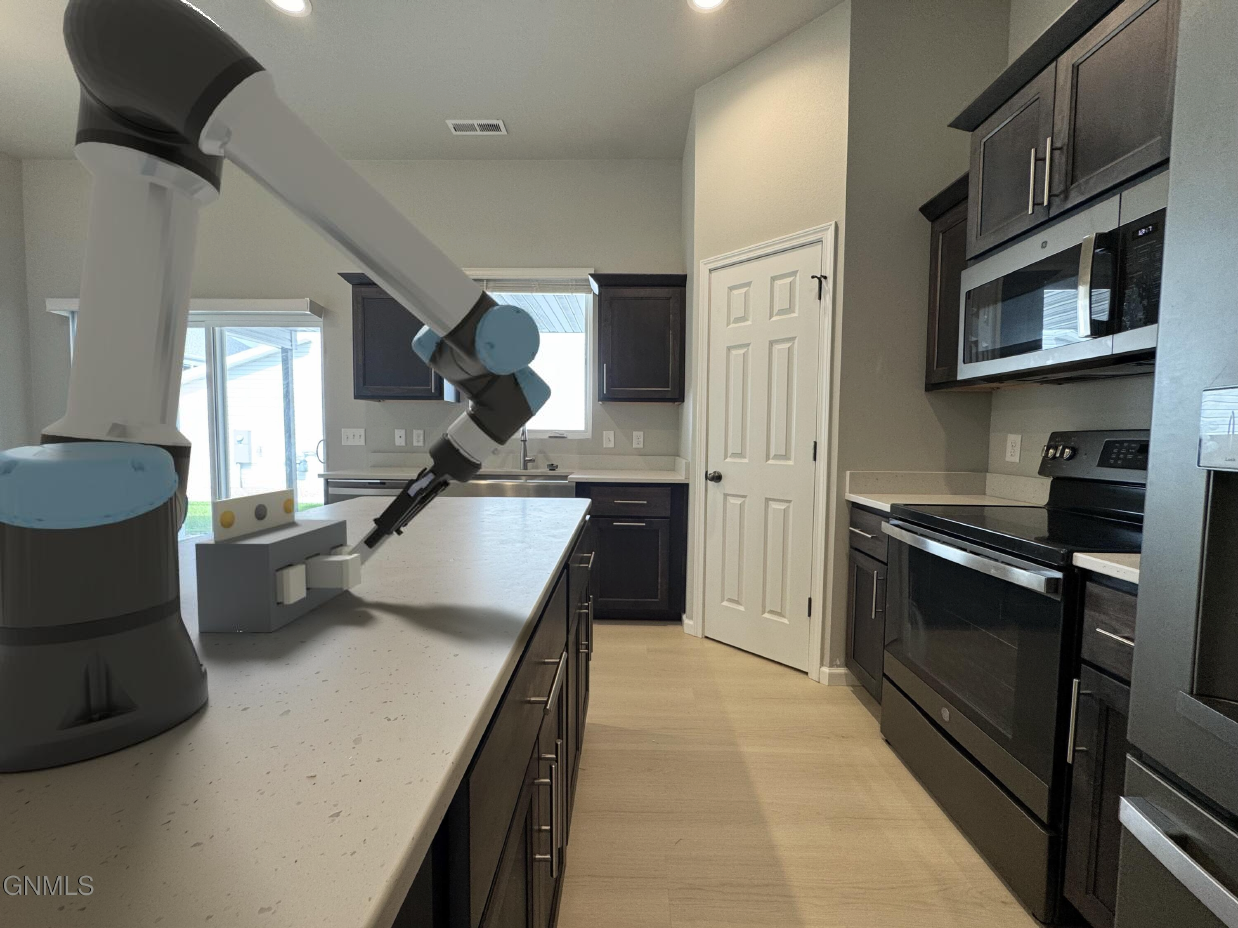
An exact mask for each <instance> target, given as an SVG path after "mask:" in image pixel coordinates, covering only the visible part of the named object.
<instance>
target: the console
mask: <svg viewBox="0 0 1238 928" xmlns="http://www.w3.org/2000/svg"><path fill="white" fill-rule="evenodd" d="M347 523H348V522H347V519H295V521H293V522H289V523H286V524H282V525H278V526H274V527H270V528H267V529H263V530H259V531H255V532H252V533H248V534H244V535H240V536H236V537H233V538H229V539H225V540H221V541H214V538H212V539H208V540H203V541H201V542H195V543H194V546H195V547H194V549H195V569H196V570H195V572H196V573H195V574H196V575H195V577H196V595H197V596H196V597H197V598H196V599H197V600H196V601H197V621H198V622H197V623H198V633H250V632H272V631H274V632H275V631H277V630H278V629H280V627H281V628H282V627H284V626H286V625H288V624H289V623H291V622H293V621H295V620H297V619H298V618H300V617H302V616H304V615H305V614H307V613H309V612H310V610H311V611H313V610H314V609H316V608H318V607H320V606H322V605H323V604H325V603H326V602H329V601H330V600H332V599H334V598H335V597H337V596H339V595H342V594H343V593H344V592H347V590H343V588H306V596H305V597H304V598H302V599H300V600H298V601H296V602H294V603H292V604H284V602H277V593H276V570H277V569H279V568H282V567H284V566H296V565H299V564H305V578H306V558H307V557H310V556H312V555H331V548H333V547H335V546H346V545H348V535H347V534H348V533H347V531H348V530H347V529H348V528H347ZM319 605H320V606H319ZM312 609H313V610H312ZM237 631H238V632H237ZM240 631H242V632H240ZM272 633H273V632H272Z"/></svg>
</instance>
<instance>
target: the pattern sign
mask: <svg viewBox="0 0 1238 928" xmlns="http://www.w3.org/2000/svg"><path fill="white" fill-rule="evenodd" d="M295 517H296V515H295V489H294V488H285V489H278V490H272V491H267V492H261V493H255V494H248V495H241V496H237V497H236V496H235V497H231V498H230V497H228V498H225V499H219V500H218V499H217V500H213V501H212V518H213V519H212V520H213V539H214V541H221V540H225V539H229V538H233V537H236V536H240V535H244V534H248V533H252V532H255V531H259V530H263V529H267V528H270V527H274V526H278V525H282V524H286V523H289V522H293V521H295V520H296V518H295Z"/></svg>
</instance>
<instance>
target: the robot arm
mask: <svg viewBox="0 0 1238 928" xmlns="http://www.w3.org/2000/svg"><path fill="white" fill-rule="evenodd" d="M62 34H63V41H64V45H65V48H66V51H67V54H68V57H69V60H70V62H71V65H72V67H73V71H74V73H75V75H76V78H77V80H78V83H79V91H80V92H79V94H80V95H79V96H80V97H79V106H78V114H77V122H76V123H77V124H76V132H75V142H74V143H75V144H74V152H73V153H74V156H75V157H76V159H77V160H78V162H80V164H81V165H82V166H83V167H84V168H85V169H86V170H87V171H88V173H90V175H91V176H92V184H91V185H92V186H91V193H90V204H89V212H88V220H87V221H88V222H87V228H86V229H87V230H86V236H85V237H86V238H85V246H84V247H85V248H84V255H83V262H82V263H83V264H82V272H81V280H80V289H79V290H80V291H79V298H78V304H77V305H78V308H77V315H76V316H77V317H76V323H75V332H74V342H73V349H72V359H71V367H70V374H69V384H68V385H69V386H68V393H67V403H66V408H65V409H66V410H65V414H64V415H63V416H62V417H61V419H59V420H57V421H55V422H53V423H52V424H50V425H48V426H47V427H44V428H43V429H41V435H40V444H39V445H33V446H32V445H28V446H27V445H26V446H21V447H13V448H10V449H5V450H1V451H0V773H3V772H4V773H7V772H8V773H10V772H23V771H33V770H39V769H47V768H51V767H56V766H61V765H67V764H71V763H75V762H80V761H83V760H87V759H90V758H91V759H92V758H95V757H97V756H102V755H105V754H108V753H111V752H114V751H115V752H116V751H118V750H120V749H124V748H126V747H129V746H132V745H134V744H138V743H139V742H140V743H141V742H142V741H145V740H148V739H149V738H152V737H155V736H156V735H159V734H161V733H163V732H166V731H167V730H169V729H171V728H174V727H175V726H176V725H178V724H180V723H181V722H183V721H185V720H186V719H188V718H189V717H191V716H192V715H194V714H195V713H196V712H198V711H199V710H200V709H201V708H202V707H203V705H204V704H205V703H206V702H207V699H208V698H209V682H208V671H207V668H206V666H205V664H204V662H202V660H200V659H199V656H198V653H197V650H196V647H195V645H194V643H193V641H192V638H191V636H190V634H189V631H188V629H187V626H186V624H185V623H184V620H183V617H182V610H181V609H182V608H181V605H182V604H181V586H180V585H181V584H180V583H181V582H180V581H181V580H180V558H179V556H180V555H179V533H180V531H181V529H182V528H183V524H185V522H186V520H187V519H186V518H187V516H188V512H189V496H188V494H187V492H188V491H187V490H188V483H189V482H188V481H189V473H190V472H189V471H190V463H191V453H192V441H190V440H189V439H188V438H187V437H186V436H185V435H184V434H183V433H182V432H181V431H180V429H178V426H177V421H178V412H179V403H180V395H181V388H182V386H181V384H182V377H183V367H184V359H185V352H186V350H185V349H186V343H187V342H186V341H187V334H188V333H187V332H188V324H189V323H188V322H189V315H190V307H191V306H190V304H191V296H192V287H193V279H194V269H195V262H196V251H197V245H198V244H197V243H198V234H199V228H200V227H199V226H200V216H201V211H202V210H203V209H206V208H209V207H210V206H213V205H215V204H217V203H218V202H219V200H220V195H221V185H222V178H223V177H222V176H223V170H224V169H223V168H224V161H225V159H227V160H229V162H231V163H232V164H234V165H235V166H236V167H237V168H238V169H239V170H241V172H243V173H244V174H246V176H248V177H249V178H250V179H251V180H252V181H254V182H255V183H256V184H257V185H259V186H260V187H261V188H262V189H263V190H264V191H265V192H267V193H268V194H269V195H270V196H271V197H273V198H274V199H275V200H276V201H277V202H278V203H280V205H282V206H283V207H284V208H286V209H287V210H288V211H289V212H290V213H292V214H293V215H294V216H295V217H296V218H297V219H299V220H300V221H302V223H304V224H305V225H306V226H307V227H308V228H309V229H311V230H312V231H313V232H314V233H316V234H317V235H318V236H319V237H320V238H322V239H323V240H324V241H325V242H326V243H327V244H328V245H330V246H331V247H332V248H334V249H335V250H336V251H337V252H339V253H340V254H341V256H343V257H344V258H345V259H347V260H348V261H349V262H350V263H351V264H352V265H354V266H355V267H356V268H358V270H360V272H362V273H363V274H365V275H366V277H368V278H369V279H371V280H372V281H373V282H374V283H375V284H376V285H378V286H379V288H381V289H382V290H383V291H385V292H386V293H387V294H388V295H389V296H391V297H392V298H393V299H394V300H396V301H397V302H398V304H400V305H401V306H403V307H404V308H405V309H406V310H407V311H409V312H410V313H411V314H412V315H413V316H414V317H416V318H417V319H418V320H419V321H421V322H422V323H423V324H424V325H423V326H422V327H421V329H420V330H419V331H418V332H417V334H416V335H415V336H414V337H413V339H412V342H411V348H412V350H413V351H414V353H416V355H417V356H419V358H420V359H421V360H422V361H423V362H424V363H425V365H426V366H428V368H431V369H432V370H434V371H435V372H436V373H437V374H438V375H439V376H441V378H443V379H444V380H445V381H446V382H448V383H449V384H450V385H451V386H453V387H454V388H455V389H456V390H458V392H459V393H461V394H462V395H463V396H465V397H466V399H468V400H469V401H471V405H470V406H468V408H467V409H466V410H465V411H464V412H463V413H461V415H460V416H459V417H458V418H457V419H456V420H455V421H454V422H453V423H452V424H451V425H449V427H448V428H447V432H446V433H442V435H440V436H439V438H438V439H436V440H435V442H434V443H432V444H431V445H430V446H429V448H428V453H429V456H430V458H431V459H432V462H433V464H432V465H431V466H430V467H428V468H427V467H424V468H423V469H421V470H420V471H419V472H418V473H417V474H416V478H415V479H414V478H411V479H410V480H408V481H407V483H406V484H405V486H404V488H403V489H402V490H401V491H400V492H399V494H397V496H396V497H395V498H394V499H393V500H392V502H391V503H390V504H389V505H388V506H387V507H386V509H385V510H383V512H382V513H381V514H380V515H379V516H378V517H374V518H373V519H372V522H373V523H374V526H373V527H372V528H371V529H370V530H369V531H368V532H367V533H366V534H365V535H364V536H363V537H362V538H361V539H360V540H359V541H358V542H357V543H356V545H354V546H353V547H354V548H353V549H352V550H351V551H350V552H349V553H348V555H349V556H351V555H353V554H360V559H361V567H362V566H365V564H367V563H368V562H369V561H370V560H371V559H373V557H374V556H375V555H376V554H377V553H378V552H379V551H380V550H381V549H382V548H383V547H384V546H385V544H387V542H388V541H390V540H391V538H392V537H394V536H395V534H396V535H397V536H398V537H401V535H403V534H404V531H403V530H401V529H402V528H406V527H407V526H408V524H409V523H410V522H412V521H413V520H414V519H415V518H416V517H417V516H418V515H419V514H420V513H422V511H423V510H424V509H425V508H426V507H428V506H429V504H431V503H432V502H433V501H434V500H435V499H437V497H438V496H439V495H441V494H442V492H445V491H446V490H447V489H448V488H449V487H450V486H451V482H450V480H452V479H453V480H454V481H456V482H458V483H461V484H466V483H469V482H470V480H471V479H472V478H474V477H475V476H476V475H477V473H479V471H481V470H482V466H483V465H482V464H487V463H488V462H489V460H490V459H492V458H493V457H494V456H495V457H497V458H498V457H500V456H501V454H502V453H501V450H499V449H501V448H503V447H504V446H505V444H507V443H508V441H509V440H511V439H512V438H513V437H514V436H515V435H516V434H517V433H518V432H519V431H520V430H521V429H522V428H523V427H524V426H525V425H526V424H527V423H528V422H529V421H530V420H531V419H533V417H535V416H536V415H537V413H538V412H539V411H540V410H541V409H542V407H544V406H545V404H546V403H547V402H548V401H549V399H550V397H551V396H552V389H551V387H550V385H549V384H548V383H547V382H546V381H545V380H544V379H543V377H541V376H540V375H539V374H538V373H537V372H536V371H535V370H534V369H533V368H532V367H531V366H529V365H530V364H531V363H532V362H533V361H534V360H535V359H536V356H537V354H538V352H539V349H540V345H541V337H540V331H539V328H538V327H539V326H538V325H537V323H536V321H535V319H534V318H533V316H532V315H531V314H530V313H529V312H528V311H526V310H525V309H523V308H521V307H519V306H516V305H514V304H502V303H501V304H500V303H498V302H497V301H496V299H494V298H493V297H492V296H491V295H489V294H488V292H486V291H485V290H484V289H483V288H482V287H481V286H480V285H479V284H478V283H477V282H476V281H475V280H473V278H472V277H470V276H469V274H467V273H466V272H465V271H464V270H463V269H462V268H461V267H460V266H459V265H458V264H456V263H455V262H454V261H453V260H452V259H451V258H450V257H449V256H448V255H447V254H446V253H445V252H444V251H443V250H441V248H440V247H439V246H438V245H436V243H434V242H433V240H431V239H430V238H429V237H428V236H427V235H426V234H425V233H424V232H423V231H422V230H421V229H420V228H419V227H418V226H416V225H415V224H414V223H413V222H412V221H411V220H410V219H409V218H408V217H407V216H406V215H405V214H403V212H401V210H399V209H398V208H397V207H396V206H395V205H394V204H393V203H392V202H391V201H390V200H389V199H388V198H386V196H385V195H383V194H382V193H381V192H380V190H378V188H376V187H375V186H374V185H373V184H372V183H371V182H370V181H369V180H368V179H366V178H365V176H363V175H362V174H361V172H360V171H358V170H357V169H356V168H355V167H354V166H353V165H352V164H351V163H349V162H348V161H347V159H346V158H344V157H343V156H342V155H341V154H340V153H339V152H338V151H337V150H336V149H335V148H334V147H333V146H332V145H330V143H329V142H327V141H326V140H325V139H324V138H323V137H322V136H321V135H320V134H319V133H318V132H317V131H316V130H314V128H312V126H310V125H309V124H308V123H307V122H306V120H304V119H303V118H302V117H301V116H300V115H299V114H298V113H297V112H295V110H294V109H292V107H290V105H288V104H287V103H286V102H285V101H284V100H283V99H282V98H281V97H280V96H279V95H278V92H277V90H276V85H275V79H274V76H273V74H272V73H270V72H269V71H268V70H267V69H266V68H265V67H264V66H263V65H262V64H261V63H260V62H259V61H258V60H257V59H256V58H254V56H252V54H250V53H249V51H247V50H246V49H245V48H244V46H242V45H241V44H240V43H239V42H238V41H237V40H236V39H234V38H233V37H232V36H231V35H230V34H229V33H228V32H227V31H226V30H224V28H222V27H221V26H220V25H219V24H217V23H216V22H215V21H214V20H212V18H210V17H209V16H207V15H206V14H205V13H204V12H202V11H201V10H200V9H198V8H196V7H195V6H193V5H192V4H191V3H189V2H188V1H187V0H68V2H67V5H66V7H65V10H64V13H63V22H62Z"/></svg>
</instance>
